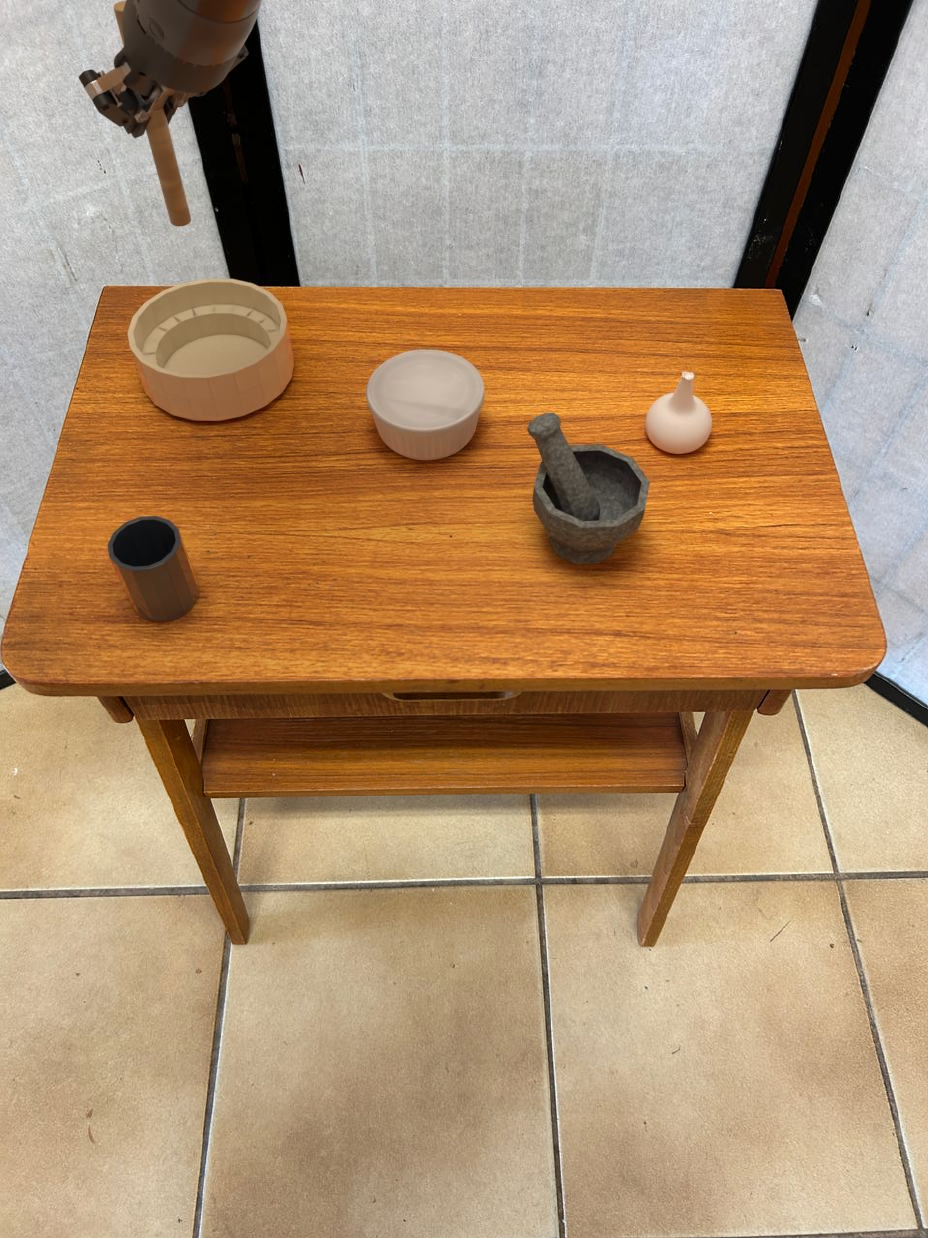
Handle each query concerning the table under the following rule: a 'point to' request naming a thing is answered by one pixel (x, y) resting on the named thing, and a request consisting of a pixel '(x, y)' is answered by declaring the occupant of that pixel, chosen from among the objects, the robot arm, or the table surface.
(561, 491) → the mortar and pestle
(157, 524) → the utensil pot
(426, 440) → the ramekin
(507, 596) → the table surface
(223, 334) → the bowl
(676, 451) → the garlic bulb
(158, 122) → the stick
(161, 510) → the table surface
